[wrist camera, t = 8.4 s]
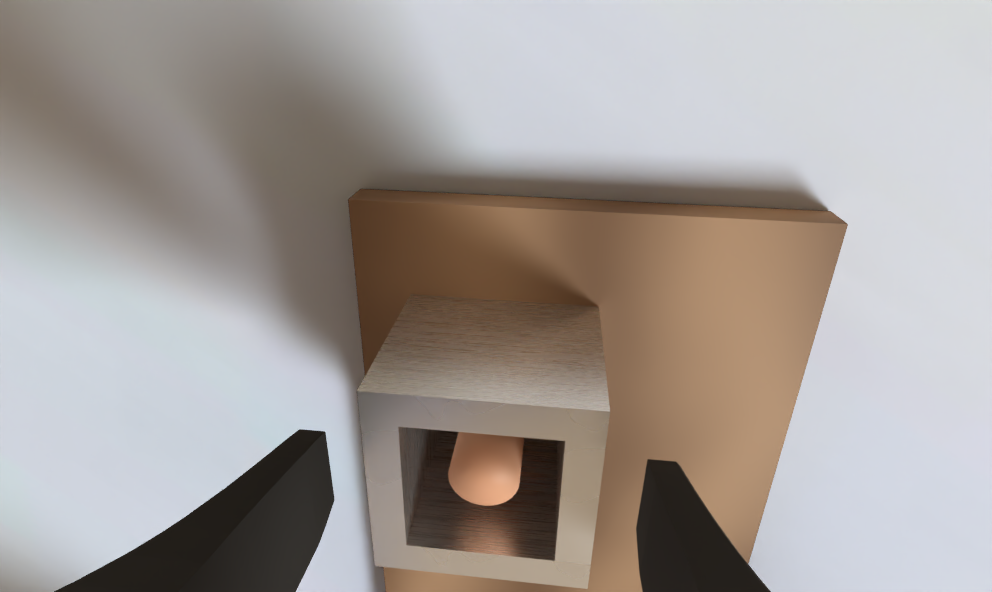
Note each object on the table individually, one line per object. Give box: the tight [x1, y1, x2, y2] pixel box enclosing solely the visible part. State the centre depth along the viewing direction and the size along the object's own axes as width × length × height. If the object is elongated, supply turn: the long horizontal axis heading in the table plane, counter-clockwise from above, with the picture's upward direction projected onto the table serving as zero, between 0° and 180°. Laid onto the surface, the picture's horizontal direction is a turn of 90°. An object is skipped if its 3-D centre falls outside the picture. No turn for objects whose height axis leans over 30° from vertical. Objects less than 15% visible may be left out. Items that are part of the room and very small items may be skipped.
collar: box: [357, 294, 610, 589], centre depth 15 cm, size 5×5×4 cm
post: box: [448, 432, 524, 506], centre depth 15 cm, size 3×3×4 cm
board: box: [348, 189, 848, 592], centre depth 19 cm, size 12×18×1 cm, turn 179°
